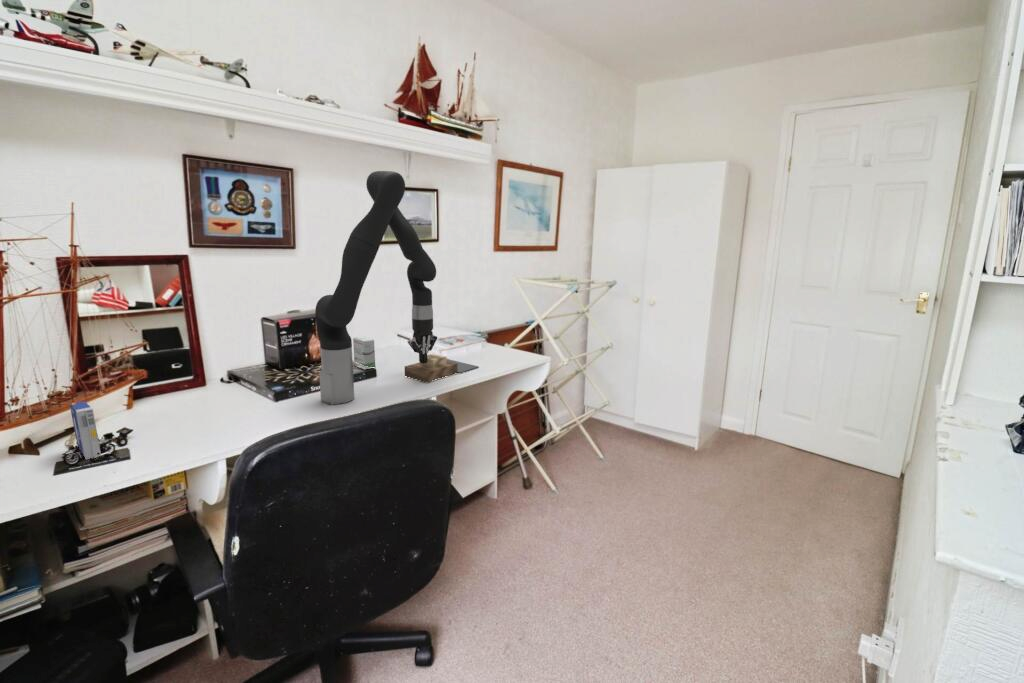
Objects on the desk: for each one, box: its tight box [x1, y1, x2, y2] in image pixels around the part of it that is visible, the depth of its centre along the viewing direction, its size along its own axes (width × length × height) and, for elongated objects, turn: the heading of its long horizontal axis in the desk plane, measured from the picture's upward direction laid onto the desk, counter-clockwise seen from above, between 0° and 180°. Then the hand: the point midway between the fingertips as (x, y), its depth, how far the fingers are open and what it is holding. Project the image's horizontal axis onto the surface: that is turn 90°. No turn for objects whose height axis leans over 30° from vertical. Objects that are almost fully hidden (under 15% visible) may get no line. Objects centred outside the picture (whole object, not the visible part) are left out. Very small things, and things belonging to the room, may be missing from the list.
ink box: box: [352, 336, 376, 368], centre depth 187 cm, size 9×5×12 cm, turn 46°
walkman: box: [69, 401, 102, 461], centre depth 111 cm, size 8×3×12 cm, turn 52°
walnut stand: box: [404, 361, 459, 383], centre depth 180 cm, size 16×12×4 cm
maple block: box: [420, 353, 448, 368], centre depth 180 cm, size 7×7×3 cm
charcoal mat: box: [447, 358, 480, 374], centre depth 193 cm, size 11×18×1 cm, turn 54°
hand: (423, 362), depth 176 cm, fingers closed
